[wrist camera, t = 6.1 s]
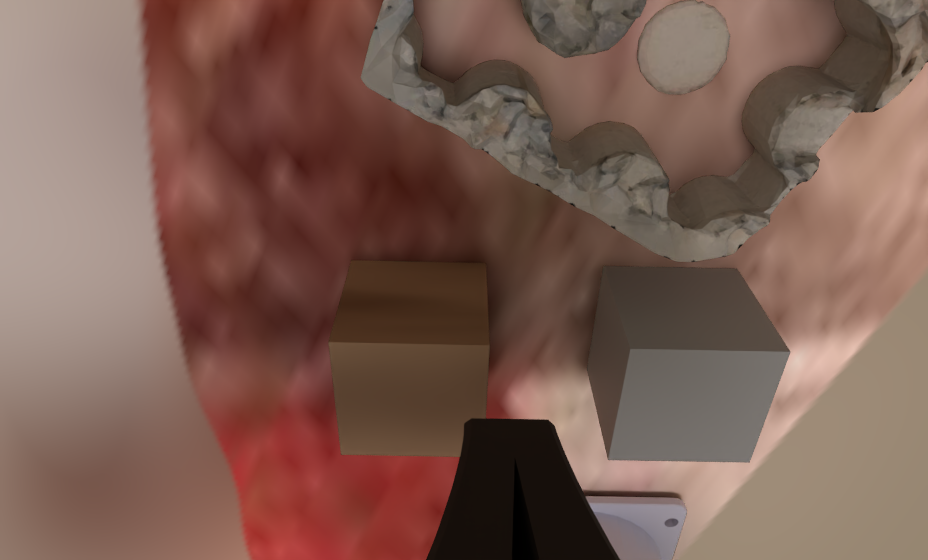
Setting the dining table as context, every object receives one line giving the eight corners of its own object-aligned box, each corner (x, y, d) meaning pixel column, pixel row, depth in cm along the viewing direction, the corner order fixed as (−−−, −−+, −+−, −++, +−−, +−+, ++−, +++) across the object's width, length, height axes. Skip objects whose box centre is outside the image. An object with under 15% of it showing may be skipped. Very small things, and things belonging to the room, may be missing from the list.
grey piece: (893, -6, 16) (1011, 34, 13) (685, 230, 20) (733, 312, 16) (524, -306, 13) (547, -360, 10) (355, 37, 17) (328, 87, 13)
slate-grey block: (706, 369, 22) (749, 462, 19) (586, 367, 22) (608, 459, 19) (735, 266, 20) (790, 352, 17) (603, 264, 20) (630, 349, 17)
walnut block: (480, 364, 22) (483, 456, 19) (360, 362, 22) (340, 454, 19) (486, 261, 20) (489, 345, 17) (351, 258, 20) (328, 342, 17)
